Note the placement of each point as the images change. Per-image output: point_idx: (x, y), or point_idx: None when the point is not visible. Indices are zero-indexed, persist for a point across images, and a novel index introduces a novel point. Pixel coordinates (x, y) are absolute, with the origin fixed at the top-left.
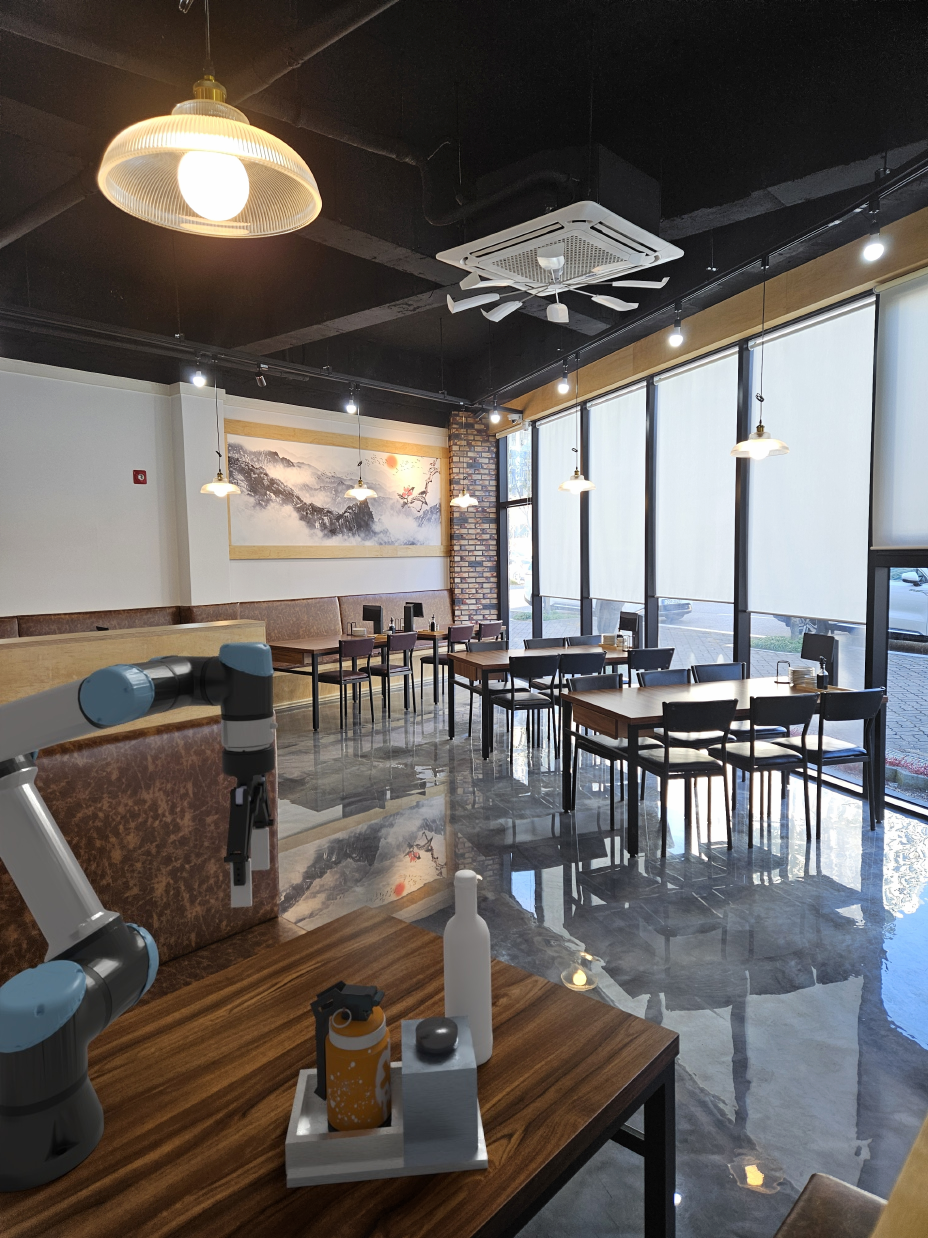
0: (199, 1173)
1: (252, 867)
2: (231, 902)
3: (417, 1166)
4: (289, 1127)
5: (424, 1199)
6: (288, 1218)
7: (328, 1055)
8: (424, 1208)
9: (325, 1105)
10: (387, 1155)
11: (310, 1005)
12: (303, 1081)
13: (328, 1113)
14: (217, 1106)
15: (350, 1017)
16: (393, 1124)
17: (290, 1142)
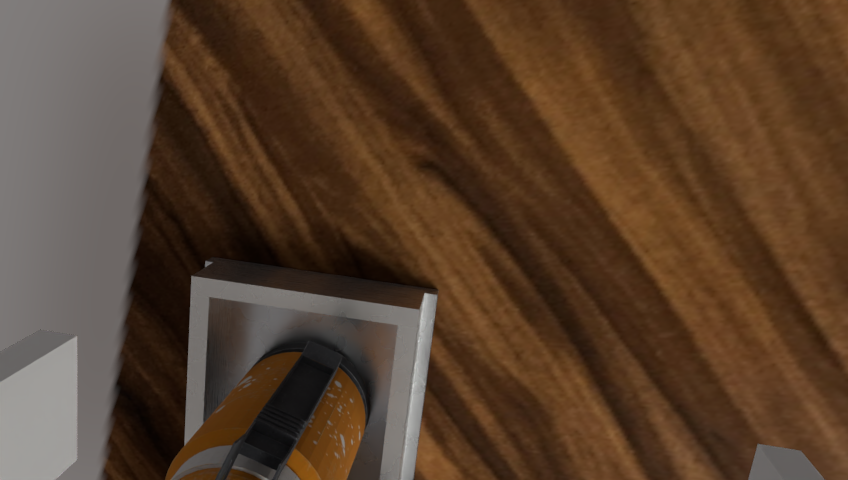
0: (278, 90)
1: (766, 467)
2: (12, 346)
3: None
4: (234, 284)
5: (154, 469)
6: (150, 259)
7: (214, 425)
8: (137, 466)
9: (382, 339)
10: None
11: (234, 442)
12: (373, 316)
13: (274, 359)
14: (469, 102)
15: None
16: None
17: (192, 286)
